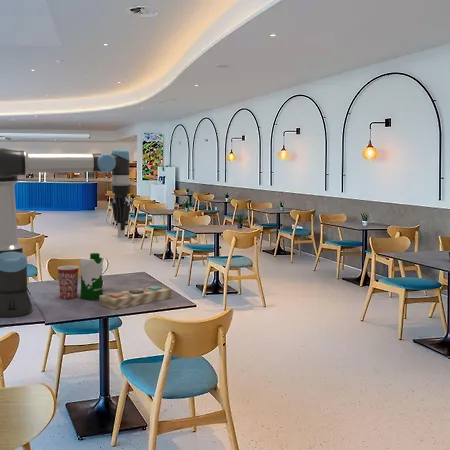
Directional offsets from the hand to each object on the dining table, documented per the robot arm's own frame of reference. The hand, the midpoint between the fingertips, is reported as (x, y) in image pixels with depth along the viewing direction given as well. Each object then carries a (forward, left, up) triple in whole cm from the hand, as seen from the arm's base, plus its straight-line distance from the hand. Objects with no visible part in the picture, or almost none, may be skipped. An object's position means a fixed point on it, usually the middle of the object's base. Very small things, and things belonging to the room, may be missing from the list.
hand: (121, 237), depth 249 cm
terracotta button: (-16, -9, -25) cm, 31 cm away
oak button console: (-7, -13, -26) cm, 30 cm away
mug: (-13, +18, -27) cm, 35 cm away
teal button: (+3, -16, -25) cm, 30 cm away
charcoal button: (-7, -13, -25) cm, 29 cm away
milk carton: (-11, +8, -27) cm, 30 cm away
